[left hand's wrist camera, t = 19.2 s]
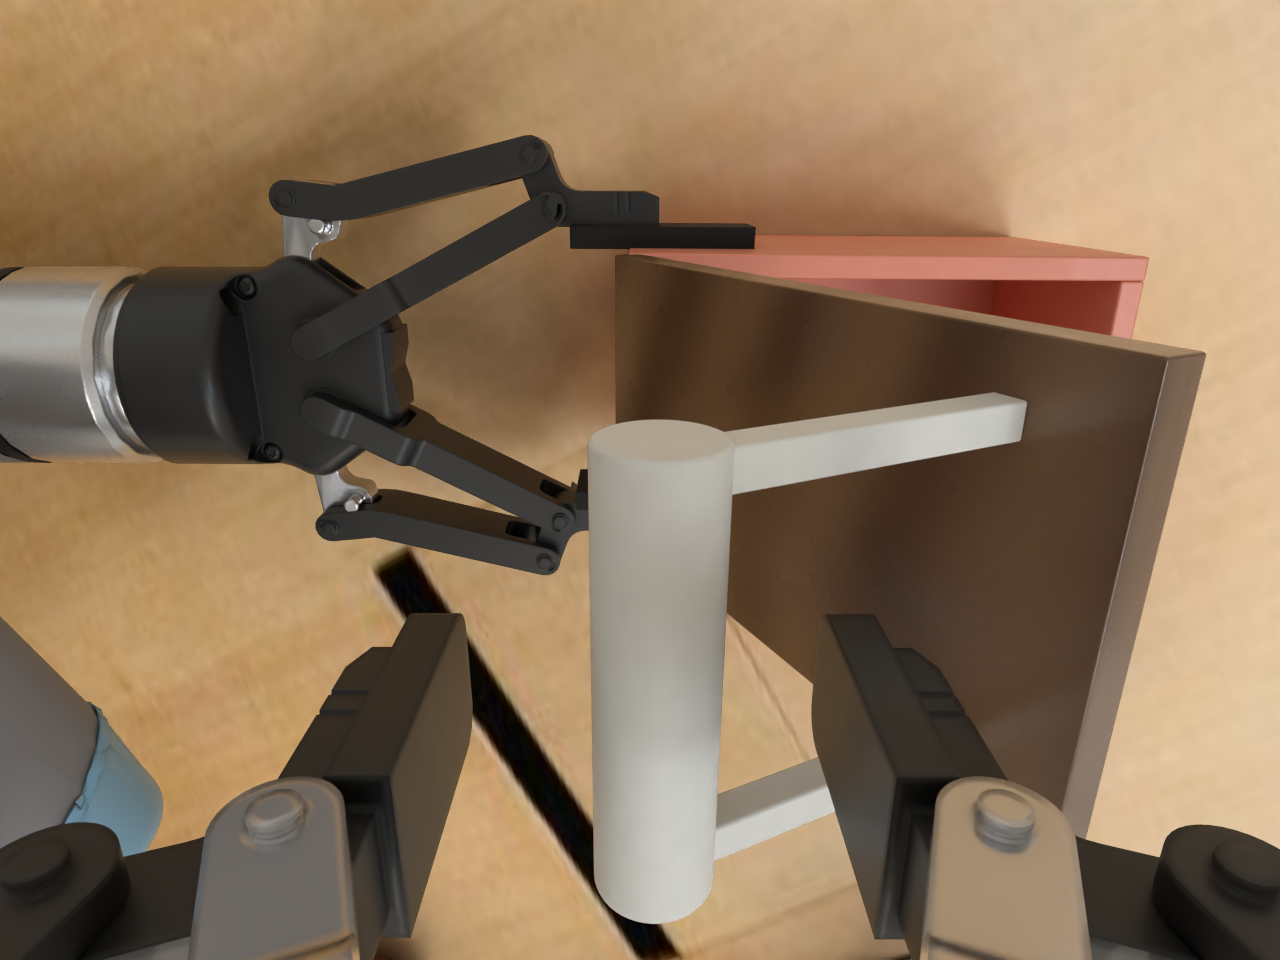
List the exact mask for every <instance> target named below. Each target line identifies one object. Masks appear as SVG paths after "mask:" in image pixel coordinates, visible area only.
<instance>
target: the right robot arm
mask: <svg viewBox="0 0 1280 960" xmlns="http://www.w3.org/2000/svg"><path fill="white" fill-rule="evenodd" d="M521 178H522V179H523V181H524V184H525V186H526V189H527V192H528V194H529V197H530V200H529V201H527V202H525V203H524V204H522V205H520V206H518V207H516V208H515V209H513V210H511V211H509V212H507V213H506V214H504V215H502V216H500V217H498V218H497V219H495V220H493V221H491V222H490V223H488V224H486V225H484V226H482V227H481V228H479V229H477V230H475V231H473V232H472V233H470V234H468V235H466V236H464V237H463V238H461V239H459V240H457V241H456V242H454V243H452V244H450V245H448V246H447V247H445V248H443V249H441V250H439V251H438V252H436V253H434V254H432V255H430V256H429V257H427V258H425V259H423V260H422V261H420V262H418V263H416V264H414V265H413V266H411V267H409V268H407V269H405V270H404V271H402V272H400V273H398V274H396V275H395V276H393V277H391V278H389V279H387V280H385V281H383V282H381V283H379V284H377V285H376V286H374V287H372V288H370V289H366V288H365V287H363V286H362V285H360V284H359V283H357V282H356V281H354V280H353V279H352V278H350V277H349V276H347V275H346V274H344V273H343V272H341V271H340V270H338V269H337V268H336V267H334V266H333V265H331V264H330V263H328V262H327V261H325V260H324V259H322V258H321V257H320V254H321V250H322V247H323V246H324V245H325V244H326V243H327V242H329V241H334V240H339V239H341V238H343V237H344V236H345V235H346V234H347V231H348V227H349V220H353V219H360V218H368V217H373V216H378V215H383V214H387V213H390V212H394V211H398V210H402V209H406V208H410V207H414V206H417V205H421V204H425V203H429V202H433V201H437V200H441V199H444V198H448V197H452V196H456V195H460V194H464V193H467V192H471V191H475V190H479V189H483V188H487V187H491V186H494V185H498V184H502V183H506V182H510V181H514V180H517V179H521ZM269 199H270V203H271V205H272V207H273V208H274V210H276V211H277V212H278V213H279V214H281V215H283V237H284V257H281V258H279V259H278V260H276V261H274V262H273V263H271V264H270V265H268V266H265V267H159V268H155V269H152V270H151V271H147V270H145V269H142V268H139V267H136V266H27V267H9V268H0V462H40V463H51V462H64V463H135V464H148V463H157V462H159V461H162V460H166V461H169V462H171V463H178V464H268V463H284V464H288V465H292V466H295V467H297V468H299V469H301V470H303V471H305V472H307V473H310V474H313V475H315V479H316V483H317V487H318V491H319V495H320V498H321V502H322V506H323V511H324V512H323V514H322V515H321V516H320V517H319V518H318V519H317V521H316V530H317V532H318V534H319V535H320V536H321V537H322V538H323V539H326V540H328V541H340V540H351V539H362V538H372V537H376V538H380V539H385V540H389V541H394V542H398V543H403V544H407V545H411V546H416V547H420V548H425V549H429V550H434V551H438V552H443V553H447V554H451V555H456V556H460V557H465V558H469V559H474V560H478V561H483V562H487V563H491V564H496V565H500V566H505V567H509V568H514V569H518V570H523V571H527V572H532V573H536V574H540V575H550V574H553V573H554V572H555V571H557V569H558V567H559V565H560V560H561V558H562V555H563V552H564V550H565V547H566V544H567V542H568V540H569V538H570V537H571V536H572V535H573V534H575V533H576V532H579V531H585V530H589V508H588V469H581V470H580V475H579V480H578V485H577V484H575V483H574V482H572V484H571V487H569V486H567V485H565V484H563V483H561V482H559V481H557V480H555V479H553V478H551V477H549V476H547V475H545V474H543V473H541V472H539V471H536V470H534V469H532V468H530V467H528V466H526V465H524V464H522V463H520V462H518V461H516V460H514V459H512V458H510V457H508V456H506V455H504V454H502V453H500V452H498V451H496V450H493V449H491V448H489V447H487V446H485V445H483V444H481V443H479V442H477V441H475V440H473V439H471V438H469V437H467V436H465V435H463V434H461V433H459V432H457V431H455V430H452V429H450V428H448V427H446V426H444V425H442V424H440V423H439V422H437V421H436V419H435V418H434V417H433V416H432V415H431V414H429V413H427V412H425V411H423V410H421V409H419V408H417V407H415V406H413V405H411V404H410V403H412V402H413V401H414V396H413V385H412V380H411V377H410V375H409V372H408V369H407V366H406V363H405V360H406V355H407V349H408V343H409V342H408V331H407V324H402V322H401V319H400V317H399V316H398V314H399V313H400V312H402V311H404V310H406V309H408V308H409V307H411V306H413V305H415V304H417V303H419V302H420V301H422V300H424V299H426V298H428V297H429V296H431V295H433V294H435V293H437V292H439V291H440V290H442V289H444V288H446V287H448V286H450V285H451V284H453V283H455V282H457V281H459V280H460V279H462V278H464V277H466V276H468V275H470V274H471V273H473V272H475V271H477V270H479V269H480V268H482V267H484V266H486V265H488V264H490V263H491V262H493V261H495V260H497V259H499V258H500V257H502V256H504V255H506V254H508V253H510V252H511V251H513V250H515V249H517V248H519V247H520V246H522V245H524V244H526V243H528V242H530V241H531V240H533V239H535V238H537V237H539V236H540V235H542V234H544V233H546V232H548V231H550V230H551V229H553V228H555V227H570V249H630V248H673V249H755V230H756V227H753V226H751V225H748V224H716V223H659V197H657V196H655V195H653V194H650V193H648V192H646V191H580V190H575V189H573V188H571V187H570V186H568V185H567V184H566V183H565V181H564V180H563V178H562V176H561V174H560V171H559V168H558V166H557V163H556V160H555V157H554V152H553V150H552V148H551V146H550V145H549V144H548V143H547V142H546V141H544V140H542V139H540V138H538V137H535V136H532V135H526V136H521V137H517V138H514V139H510V140H506V141H502V142H499V143H495V144H491V145H487V146H483V147H480V148H476V149H472V150H468V151H464V152H461V153H457V154H453V155H449V156H446V157H442V158H438V159H434V160H430V161H427V162H423V163H419V164H415V165H411V166H408V167H404V168H400V169H396V170H393V171H389V172H385V173H381V174H377V175H374V176H370V177H366V178H362V179H358V180H355V181H351V182H347V183H343V184H340V183H331V182H323V181H314V180H281V181H278V182H276V183H274V184H273V185H272V187H271V188H270V192H269ZM365 450H367V451H369V452H371V453H373V454H375V455H377V456H380V457H382V458H384V459H386V460H388V461H390V462H392V463H395V464H397V465H401V466H413V467H415V468H417V469H419V470H421V471H424V472H426V473H428V474H430V475H432V476H434V477H436V478H438V479H440V480H442V481H445V482H447V483H449V484H451V485H453V486H455V487H457V488H459V489H461V490H463V491H466V492H468V493H470V494H472V495H474V496H476V497H478V498H480V499H482V500H484V501H487V502H489V503H491V504H493V505H495V506H497V507H499V508H501V509H503V510H505V511H508V512H510V513H512V514H514V515H516V516H518V517H515V516H511V515H507V514H502V513H498V512H494V511H489V510H485V509H481V508H476V507H472V506H467V505H463V504H459V503H454V502H450V501H446V500H441V499H437V498H433V497H428V496H424V495H420V494H415V493H411V492H407V491H401V490H393V489H377V486H376V484H375V482H374V481H373V480H370V479H365V478H358V477H356V476H354V475H353V474H351V473H350V472H349V470H348V469H347V466H346V465H347V464H348V463H349V462H351V461H352V460H353V459H355V458H356V457H357V456H359V455H360V454H361V453H363V452H364V451H365ZM162 813H163V798H162V793H161V790H160V788H159V786H158V784H157V783H156V782H155V780H154V779H153V778H152V777H151V775H150V774H149V773H148V772H147V771H146V770H145V768H144V767H143V766H142V765H141V764H140V763H139V761H138V760H137V759H136V758H135V756H134V755H133V754H132V753H131V751H130V750H129V749H128V748H127V746H126V745H125V744H124V743H123V741H122V740H121V739H120V738H119V736H118V735H117V734H116V733H115V732H114V730H113V729H112V728H111V727H110V725H109V724H108V720H107V718H106V717H105V716H104V715H103V713H102V710H101V709H100V708H98V707H96V706H95V705H93V704H92V703H91V702H86V701H85V700H84V699H83V698H82V697H81V696H80V695H79V694H78V693H77V692H76V691H75V690H74V689H73V688H72V687H71V686H70V685H69V684H68V683H67V682H66V681H65V680H64V679H63V678H62V677H61V676H60V675H59V674H58V673H57V672H56V671H55V670H54V669H53V668H52V667H51V666H50V665H49V664H48V663H47V662H46V661H45V660H44V659H43V658H42V657H41V656H40V655H39V654H38V653H37V652H36V651H35V650H34V649H33V648H32V647H31V646H30V645H29V644H28V643H26V642H25V641H24V640H23V639H22V638H21V637H20V636H19V635H18V634H17V633H16V632H15V631H14V630H13V629H12V628H11V627H10V626H9V625H8V624H7V623H6V622H5V621H4V620H3V619H2V618H1V617H0V849H1V848H2V847H4V846H6V845H8V844H10V843H11V842H13V841H15V840H17V839H19V838H21V837H24V836H26V835H29V834H31V833H33V832H36V831H39V830H42V829H45V828H48V827H52V826H56V825H60V824H67V823H74V822H90V823H97V824H101V825H104V826H106V827H108V828H110V829H112V830H113V831H114V833H115V834H116V835H117V837H118V839H119V842H120V846H121V849H122V853H123V856H129V855H133V854H137V853H142V852H146V850H147V849H148V847H149V845H150V843H151V842H152V840H153V838H154V836H155V834H156V832H157V830H158V827H159V825H160V822H161V819H162Z"/></svg>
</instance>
